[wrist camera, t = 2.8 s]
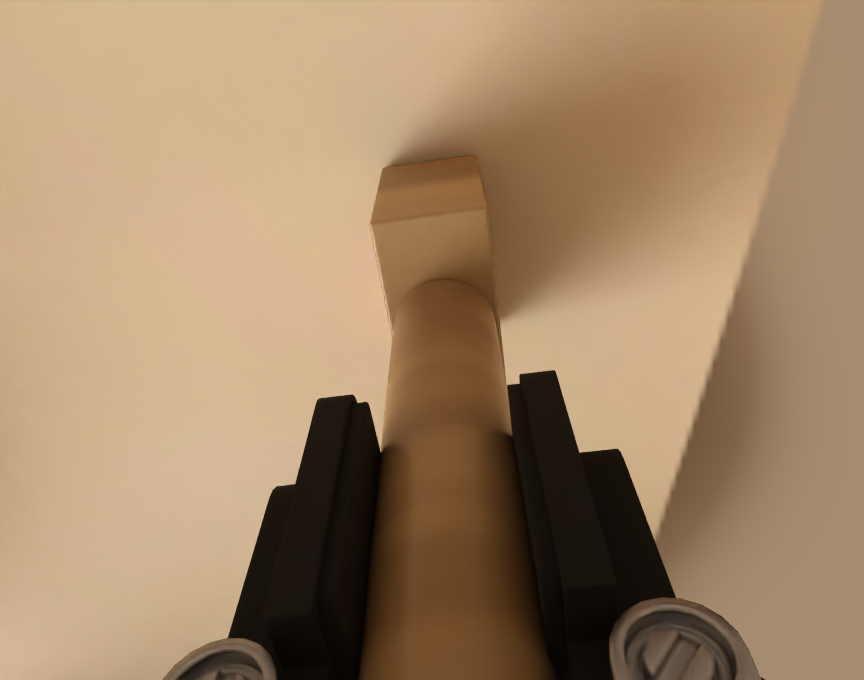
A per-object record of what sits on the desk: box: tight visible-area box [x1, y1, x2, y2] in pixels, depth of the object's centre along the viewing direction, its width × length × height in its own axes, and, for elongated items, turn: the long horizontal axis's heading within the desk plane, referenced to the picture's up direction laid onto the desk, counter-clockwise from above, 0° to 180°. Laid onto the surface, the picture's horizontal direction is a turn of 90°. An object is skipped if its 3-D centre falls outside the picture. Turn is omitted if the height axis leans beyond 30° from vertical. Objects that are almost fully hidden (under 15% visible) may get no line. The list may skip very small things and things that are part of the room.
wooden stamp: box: [357, 155, 557, 680], centre depth 12 cm, size 5×2×14 cm, turn 8°
